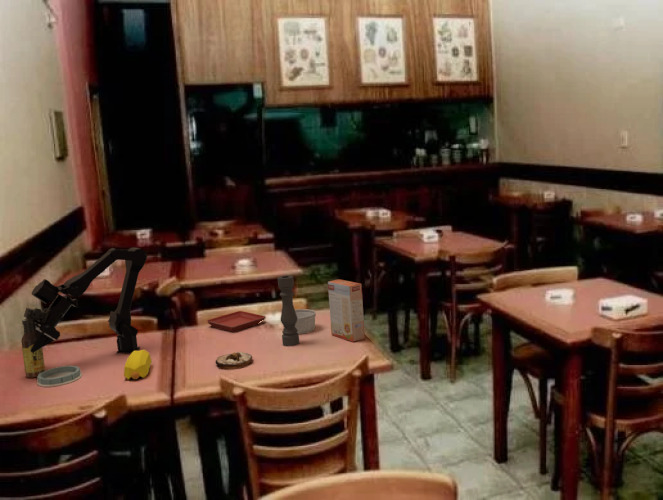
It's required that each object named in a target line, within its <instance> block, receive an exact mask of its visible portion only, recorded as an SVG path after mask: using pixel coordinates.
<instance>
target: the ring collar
mask: <svg viewBox="0 0 663 500" xmlns="http://www.w3.org/2000/svg"><path fill="white" fill-rule="evenodd" d="M82 376H83V373H82V371H81V367H80V366H77V365H61V366H57V367H52V368H49V369H45V371H43V372H41V373H39V375H38V376H37V377H36V378H37V380H36V384H37V386H39V387H42V388H51V387H52V388H53V387H60V386H64V385H69V384H72V383H74V382H76V381H78V380H80V379H81V378H82Z"/></svg>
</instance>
